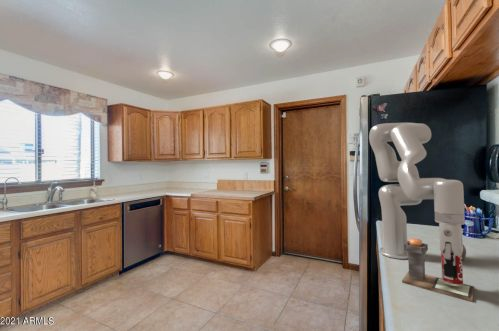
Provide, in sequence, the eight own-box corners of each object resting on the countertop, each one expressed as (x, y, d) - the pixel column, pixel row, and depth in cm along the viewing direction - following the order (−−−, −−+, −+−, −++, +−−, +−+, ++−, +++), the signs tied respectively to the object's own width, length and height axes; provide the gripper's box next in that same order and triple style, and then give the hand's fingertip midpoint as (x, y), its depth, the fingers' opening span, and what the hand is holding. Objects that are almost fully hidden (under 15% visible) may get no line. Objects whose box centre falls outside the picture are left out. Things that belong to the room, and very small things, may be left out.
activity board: (402, 282, 84) (400, 245, 84) (409, 272, 91) (407, 238, 91) (472, 302, 71) (470, 258, 71) (474, 288, 78) (472, 249, 78)
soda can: (453, 277, 81) (451, 242, 80) (467, 285, 75) (466, 247, 75) (438, 278, 80) (436, 243, 80) (451, 287, 75) (449, 249, 75)
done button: (408, 246, 85) (408, 240, 85) (411, 243, 87) (410, 237, 87) (420, 248, 82) (420, 242, 82) (423, 245, 85) (422, 239, 85)
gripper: (462, 224, 69) (465, 287, 69) (466, 214, 81) (469, 268, 81) (430, 221, 75) (432, 279, 75) (438, 212, 87) (441, 262, 86)
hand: (451, 273), depth 78 cm, fingers closed on soda can, 4 cm apart
